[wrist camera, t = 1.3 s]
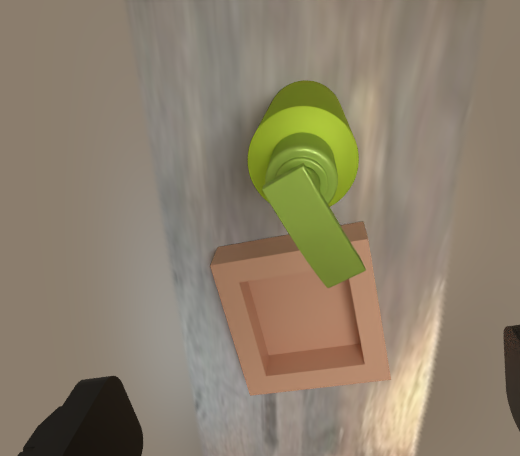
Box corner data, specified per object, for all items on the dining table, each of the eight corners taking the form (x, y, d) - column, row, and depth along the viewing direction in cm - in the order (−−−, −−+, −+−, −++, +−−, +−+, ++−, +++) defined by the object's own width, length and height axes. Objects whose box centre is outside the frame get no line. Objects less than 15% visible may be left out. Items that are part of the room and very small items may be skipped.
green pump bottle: (298, 179, 38) (287, 314, 20) (253, 106, 36) (197, 182, 18) (362, 143, 37) (413, 254, 18) (319, 65, 35) (329, 103, 16)
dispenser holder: (218, 247, 42) (210, 265, 38) (363, 221, 39) (368, 238, 36) (254, 369, 47) (250, 395, 43) (384, 353, 44) (390, 379, 41)
